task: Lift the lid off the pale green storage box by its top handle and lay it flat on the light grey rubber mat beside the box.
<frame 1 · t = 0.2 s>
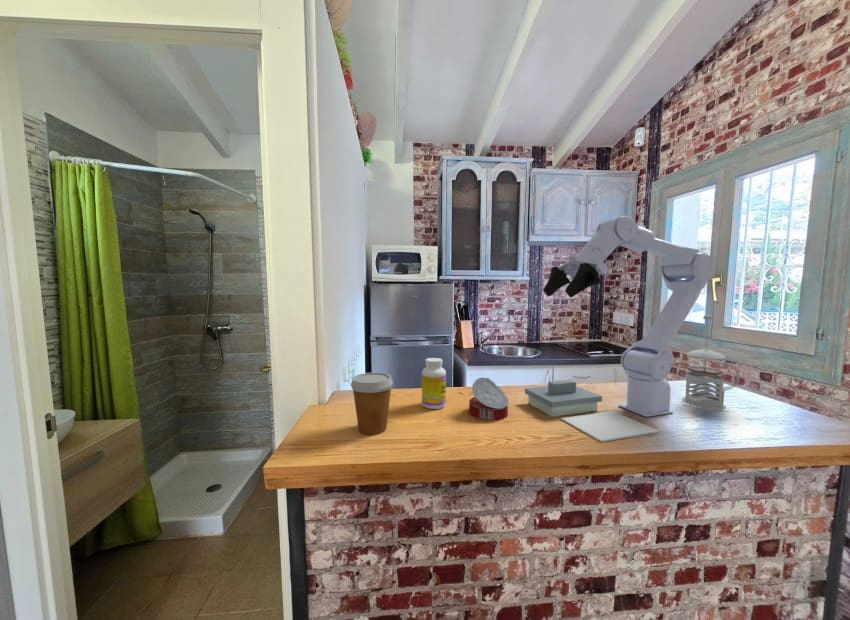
hand: (556, 293, 73), 31 cm above the countertop, tool tilted 45°, fingers open, 7 cm apart
disposable coffee cup: (372, 429, 72), on the countertop
storage box: (561, 406, 85), on the countertop
mat: (607, 425, 73), on the countertop
lid: (561, 397, 85), point 3 cm above the countertop, touching storage box
canned food: (488, 414, 81), on the countertop
supplement bottle: (433, 406, 86), on the countertop
french press: (707, 405, 86), on the countertop
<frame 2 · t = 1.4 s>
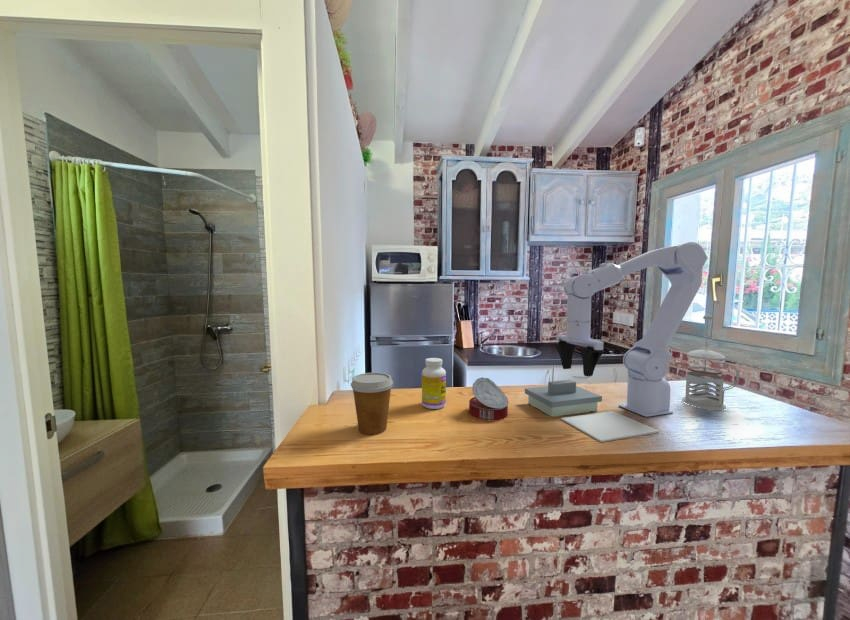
hand: (577, 372, 83), 10 cm above the countertop, tool pointing down, fingers open, 7 cm apart
nothing on the countertop moved.
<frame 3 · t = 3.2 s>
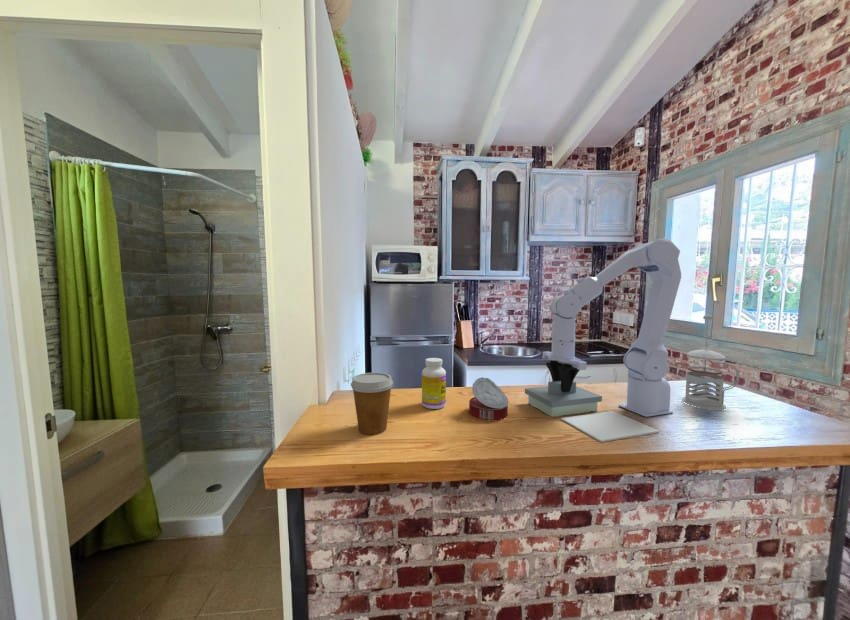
hand: (562, 390, 85), 5 cm above the countertop, tool pointing down, fingers closed on lid, 2 cm apart
lid: (561, 397, 85), point 3 cm above the countertop, touching gripper, storage box
everything else where it was.
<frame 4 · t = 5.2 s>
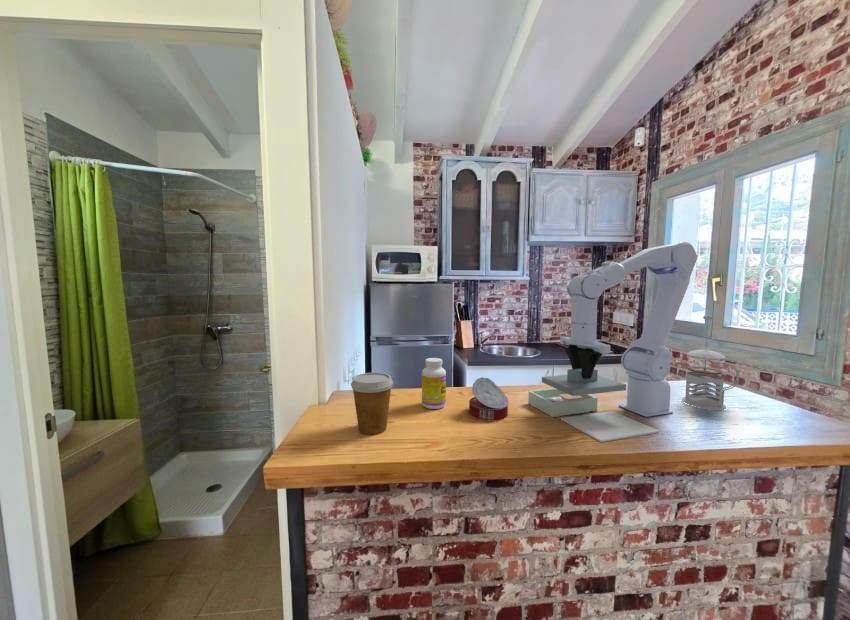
hand: (582, 376, 79), 10 cm above the countertop, tool pointing down, fingers closed on lid, 2 cm apart
lid: (582, 386, 79), point 7 cm above the countertop, touching gripper
everything else where it was.
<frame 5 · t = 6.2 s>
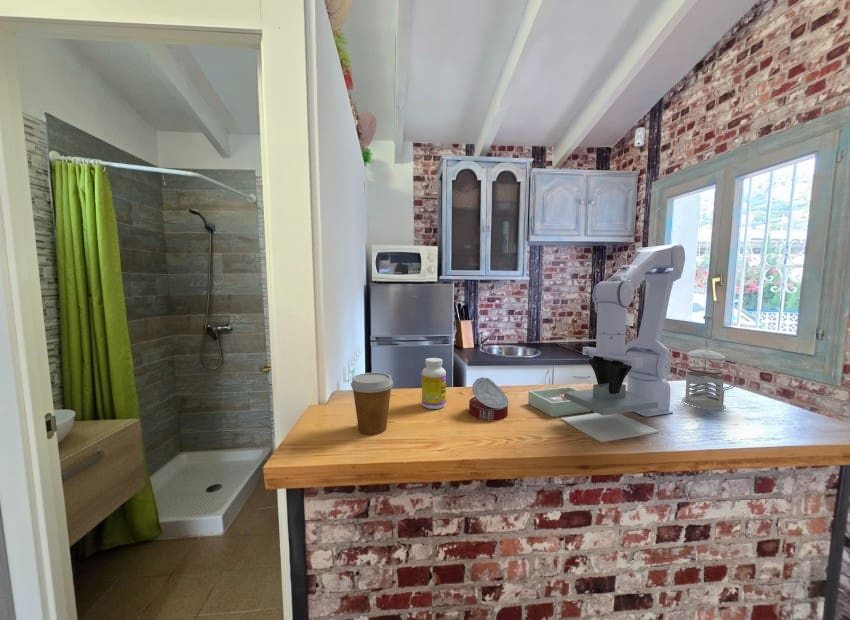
hand: (608, 391, 72), 8 cm above the countertop, tool pointing down, fingers closed on lid, 2 cm apart
lid: (608, 402, 73), point 6 cm above the countertop, touching gripper
everything else where it was.
when the fingers open (4 cm above the countertop, at t = 7.2 s): lid stays where it is, resting on mat.
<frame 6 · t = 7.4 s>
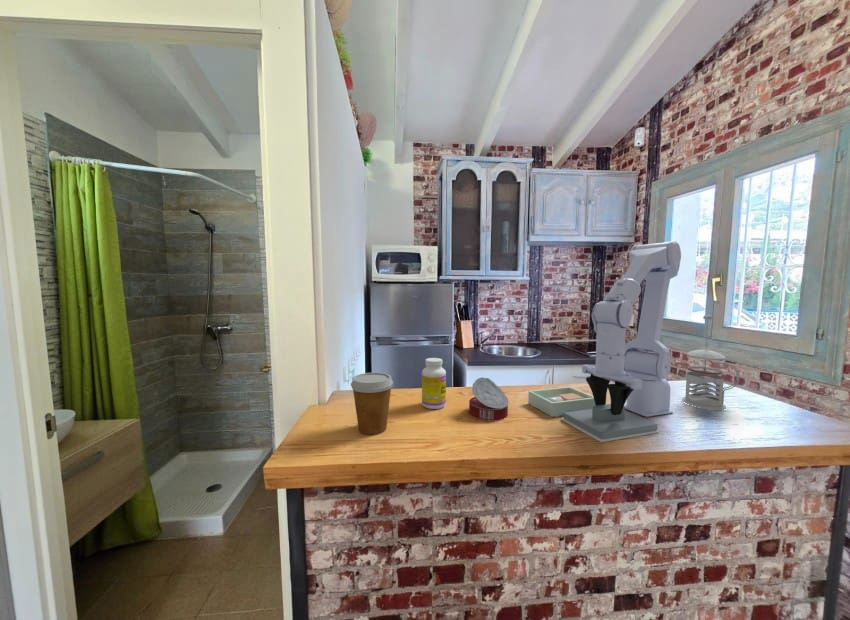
hand: (608, 410, 73), 4 cm above the countertop, tool pointing down, fingers open, 4 cm apart
lid: (608, 424, 73), resting on mat
everything else where it was.
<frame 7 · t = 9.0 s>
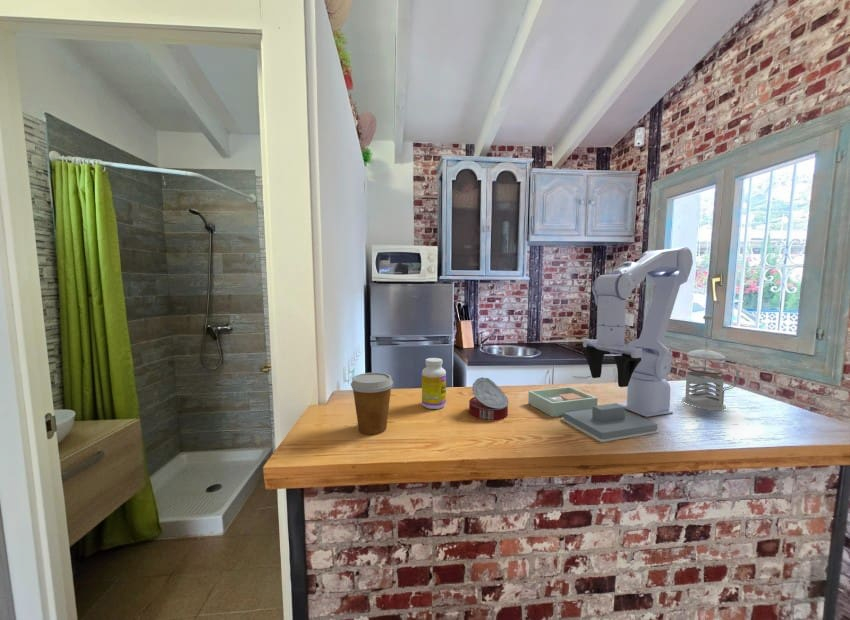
hand: (609, 381, 75), 10 cm above the countertop, tool pointing down, fingers open, 7 cm apart
nothing on the countertop moved.
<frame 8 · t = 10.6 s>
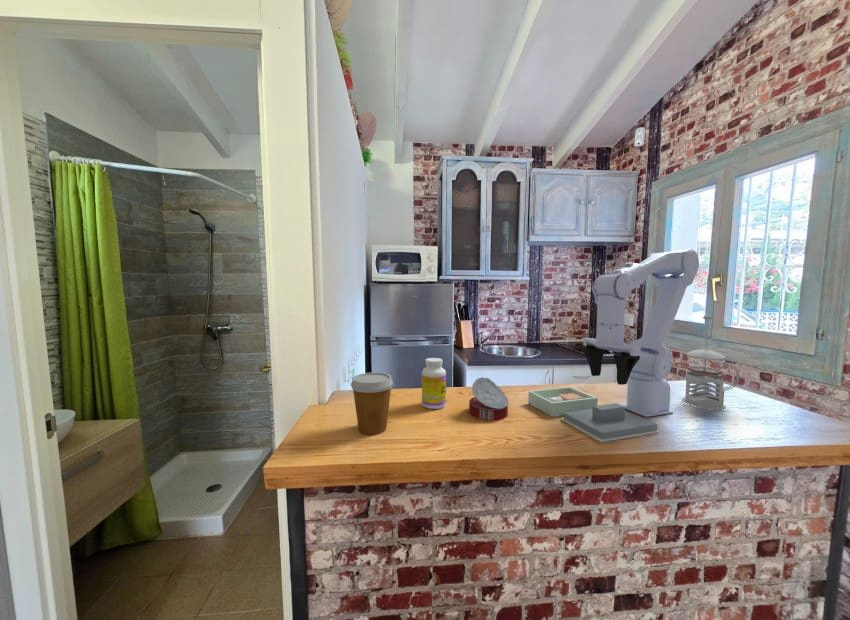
hand: (608, 379, 76), 10 cm above the countertop, tool pointing down, fingers open, 7 cm apart
nothing on the countertop moved.
at the end: lid 0.2 cm off-centre on the mat, point 0.4 cm above the mat's base; lid tilted 0°; the gripper is holding nothing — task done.
